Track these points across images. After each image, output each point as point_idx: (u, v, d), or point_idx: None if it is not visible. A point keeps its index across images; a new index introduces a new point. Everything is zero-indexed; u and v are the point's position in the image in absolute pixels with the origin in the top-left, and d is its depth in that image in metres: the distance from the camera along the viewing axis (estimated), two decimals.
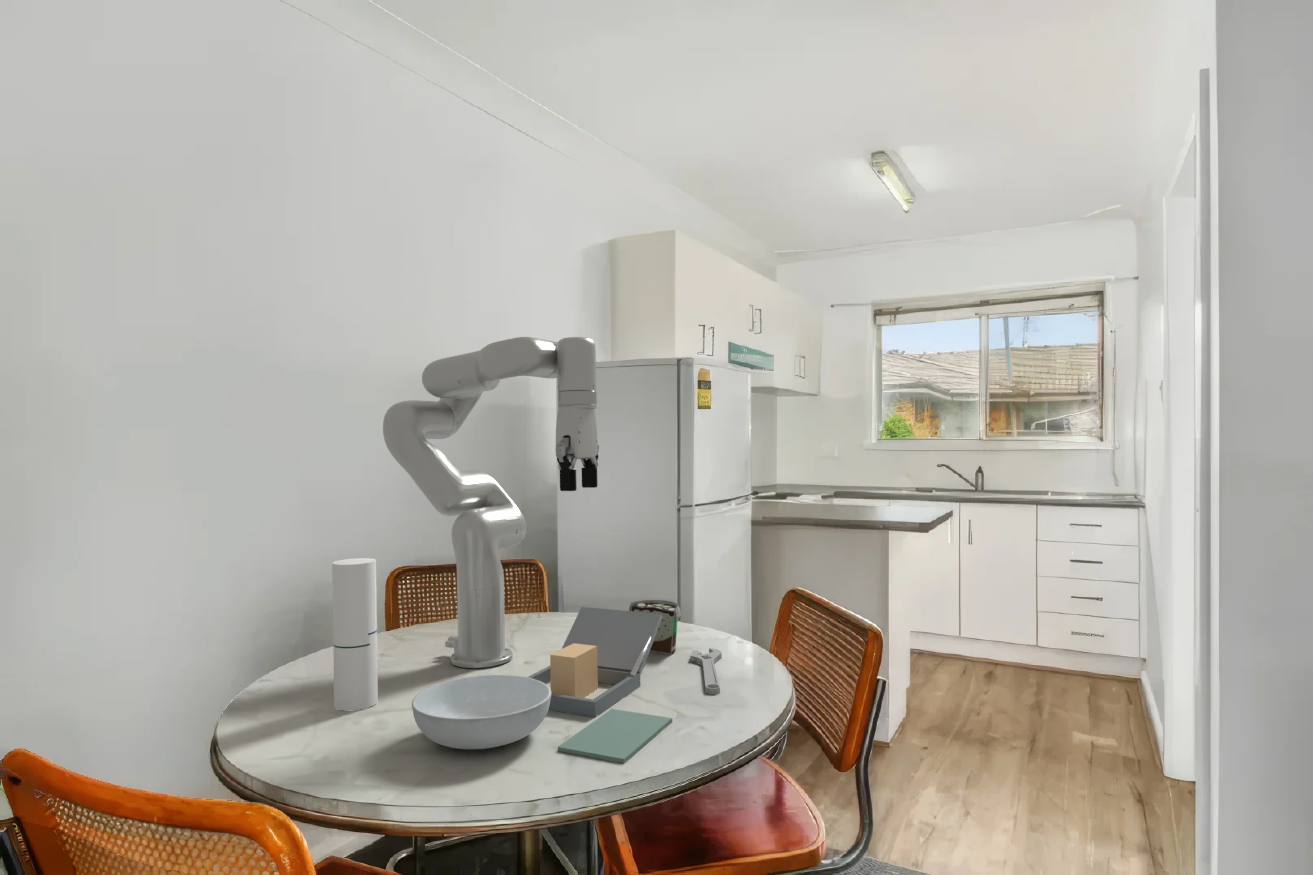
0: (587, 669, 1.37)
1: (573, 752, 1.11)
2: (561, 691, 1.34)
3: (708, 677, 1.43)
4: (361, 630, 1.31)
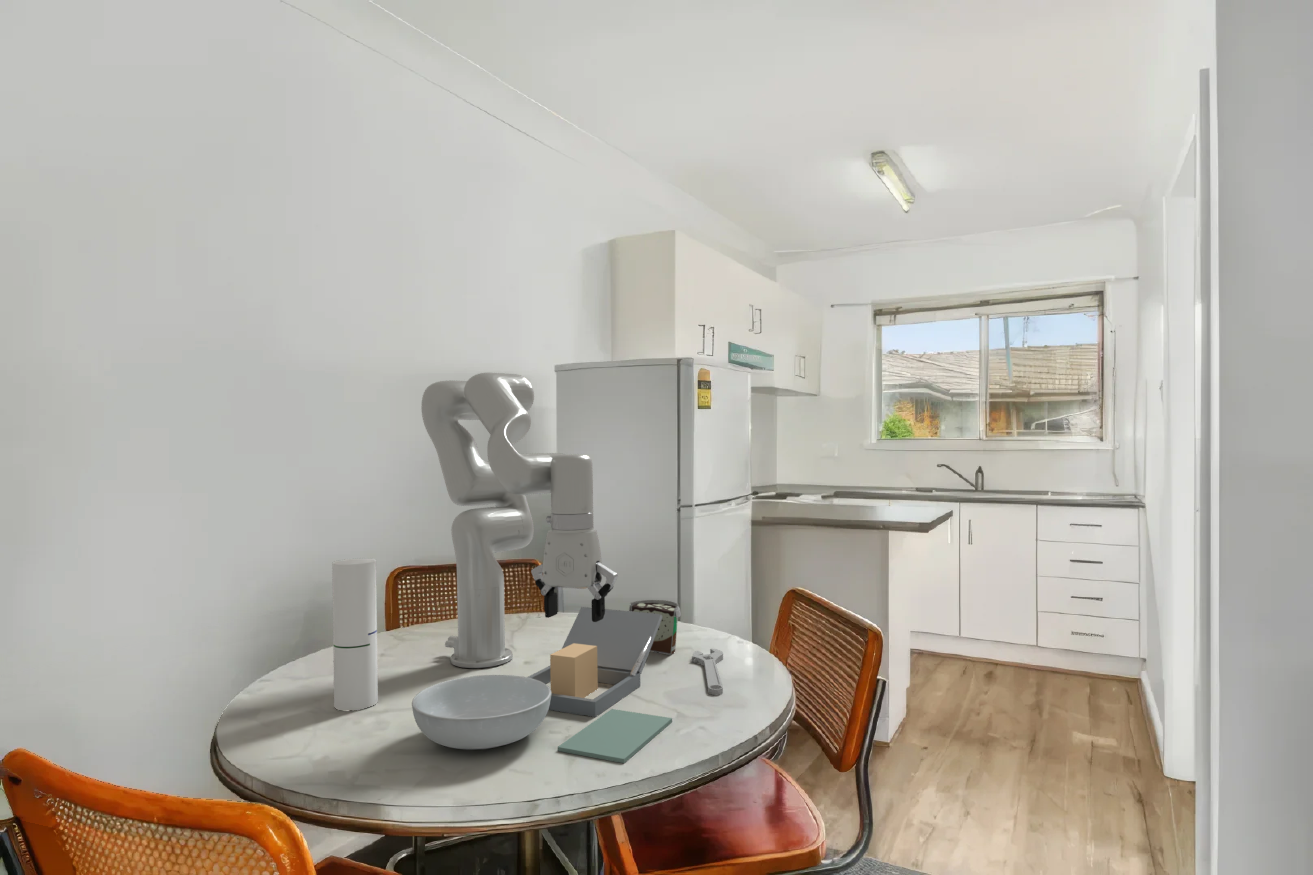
0: (587, 669, 1.37)
1: (573, 752, 1.11)
2: (561, 691, 1.34)
3: (710, 678, 1.43)
4: (361, 630, 1.31)
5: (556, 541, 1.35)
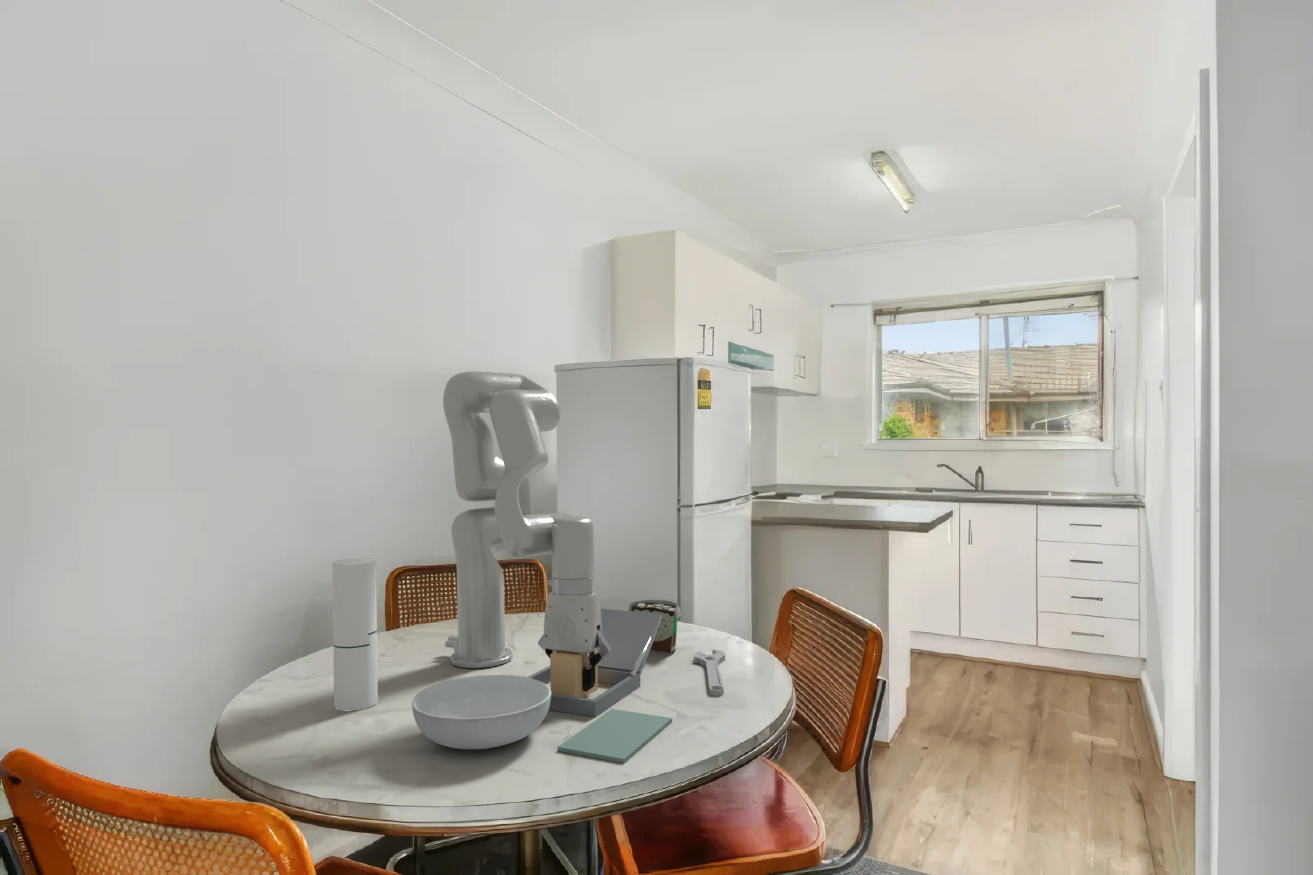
0: None
1: (573, 752, 1.11)
2: (561, 691, 1.34)
3: (712, 678, 1.42)
4: (361, 630, 1.31)
5: (557, 605, 1.36)
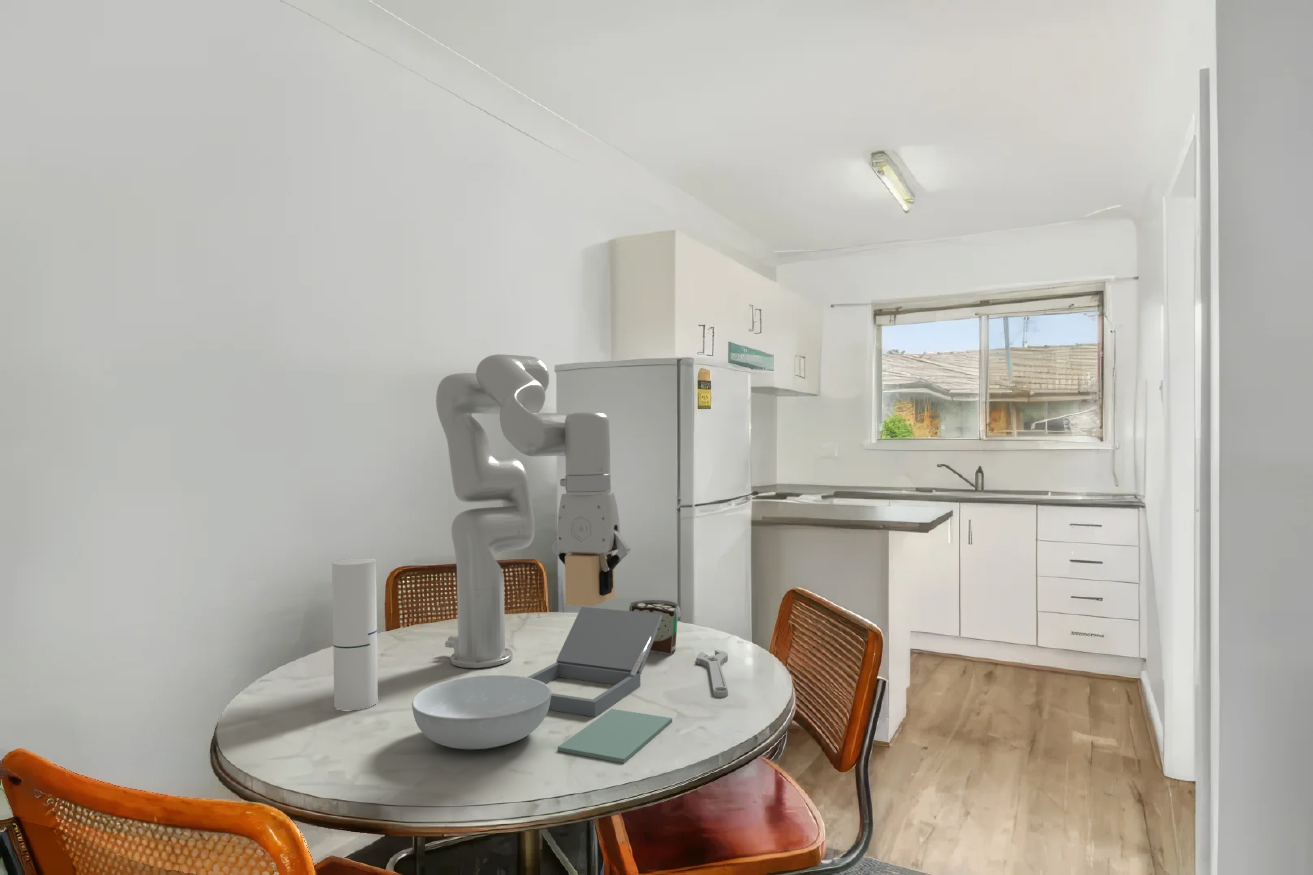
0: None
1: (573, 752, 1.11)
2: (577, 594, 1.25)
3: (715, 680, 1.42)
4: (361, 630, 1.31)
5: (571, 504, 1.27)
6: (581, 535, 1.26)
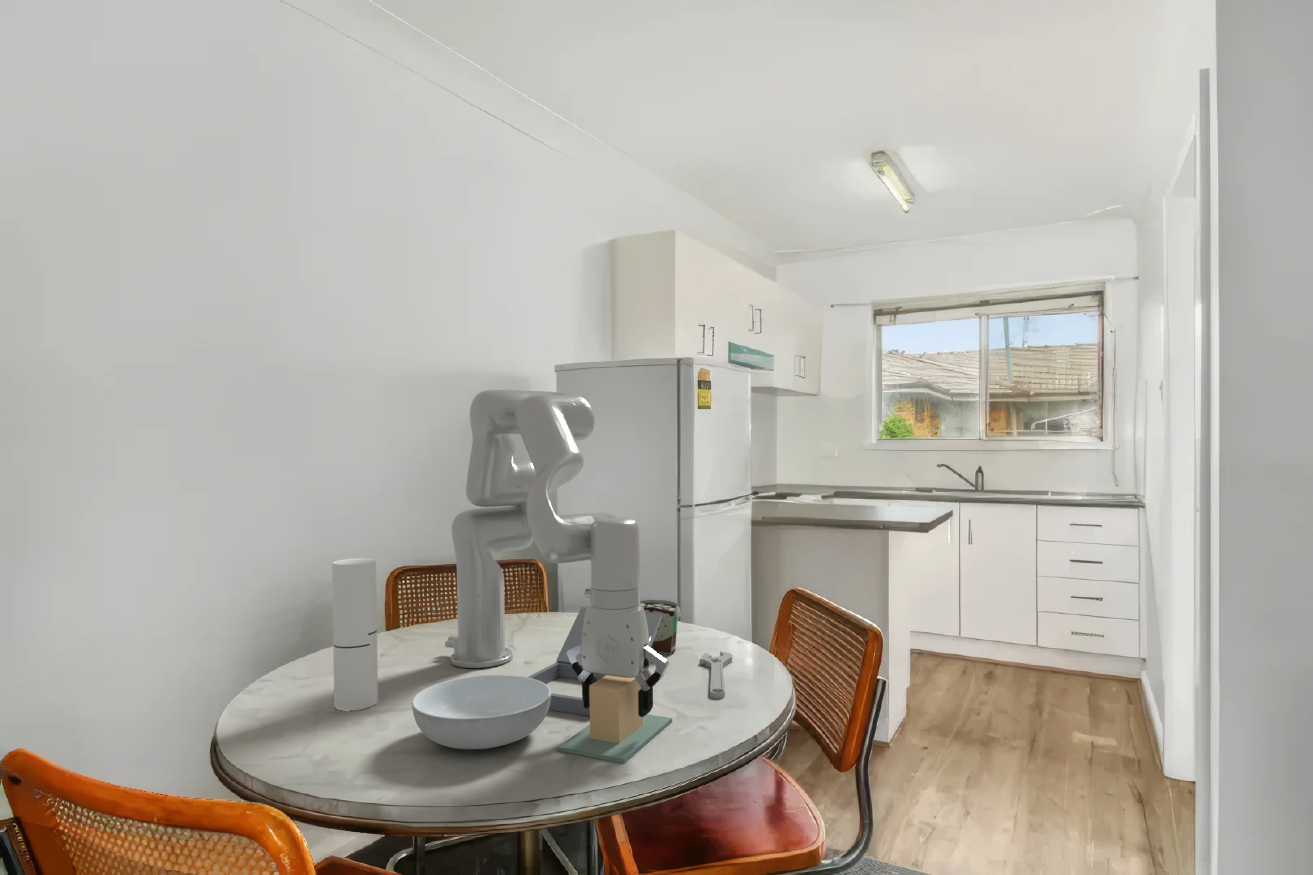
0: (632, 701, 1.17)
1: (573, 752, 1.11)
2: (602, 729, 1.15)
3: (714, 681, 1.41)
4: (361, 630, 1.31)
5: (597, 621, 1.16)
6: (608, 655, 1.15)
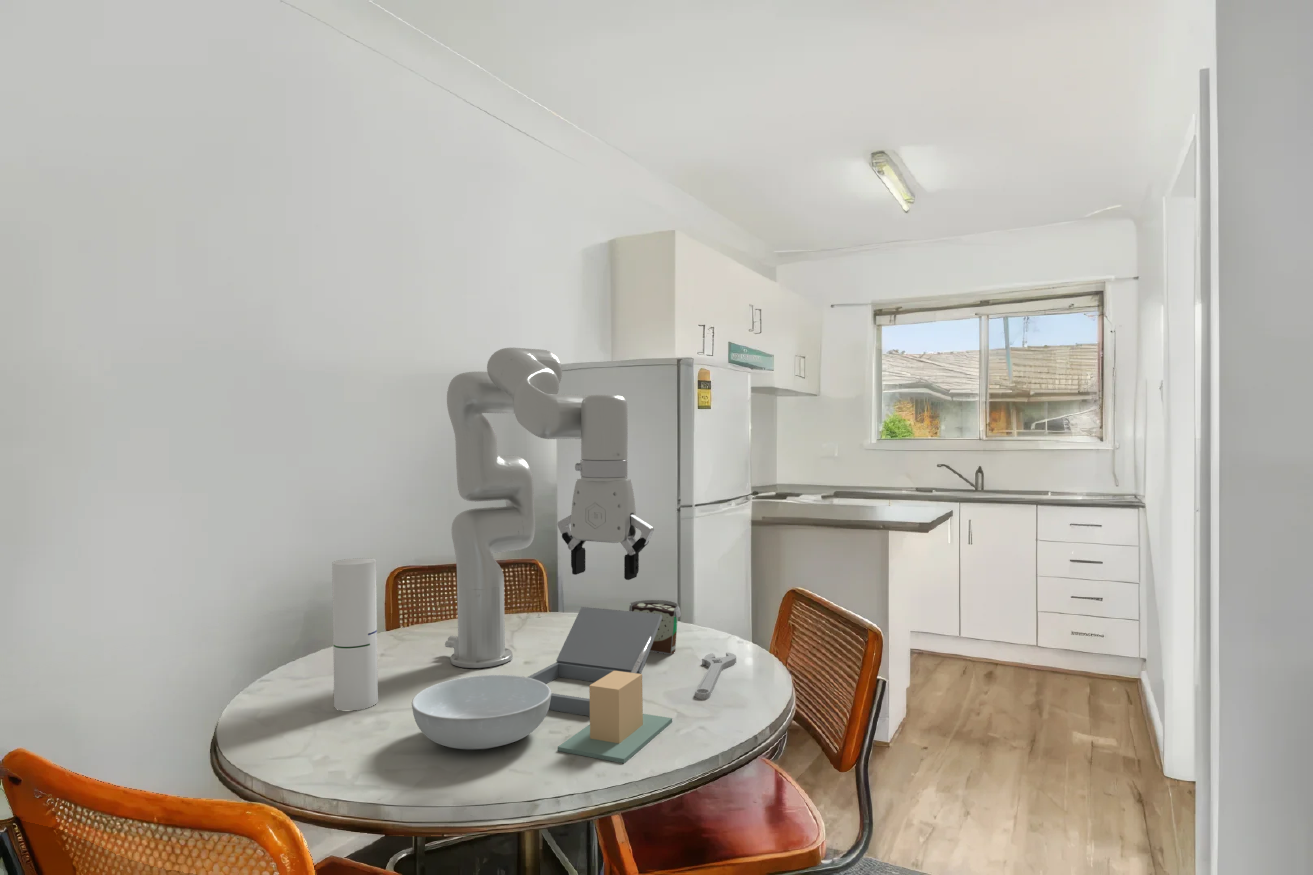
0: (632, 701, 1.17)
1: (573, 752, 1.11)
2: (602, 729, 1.15)
3: (705, 681, 1.41)
4: (361, 630, 1.31)
5: (586, 490, 1.22)
6: (596, 522, 1.22)
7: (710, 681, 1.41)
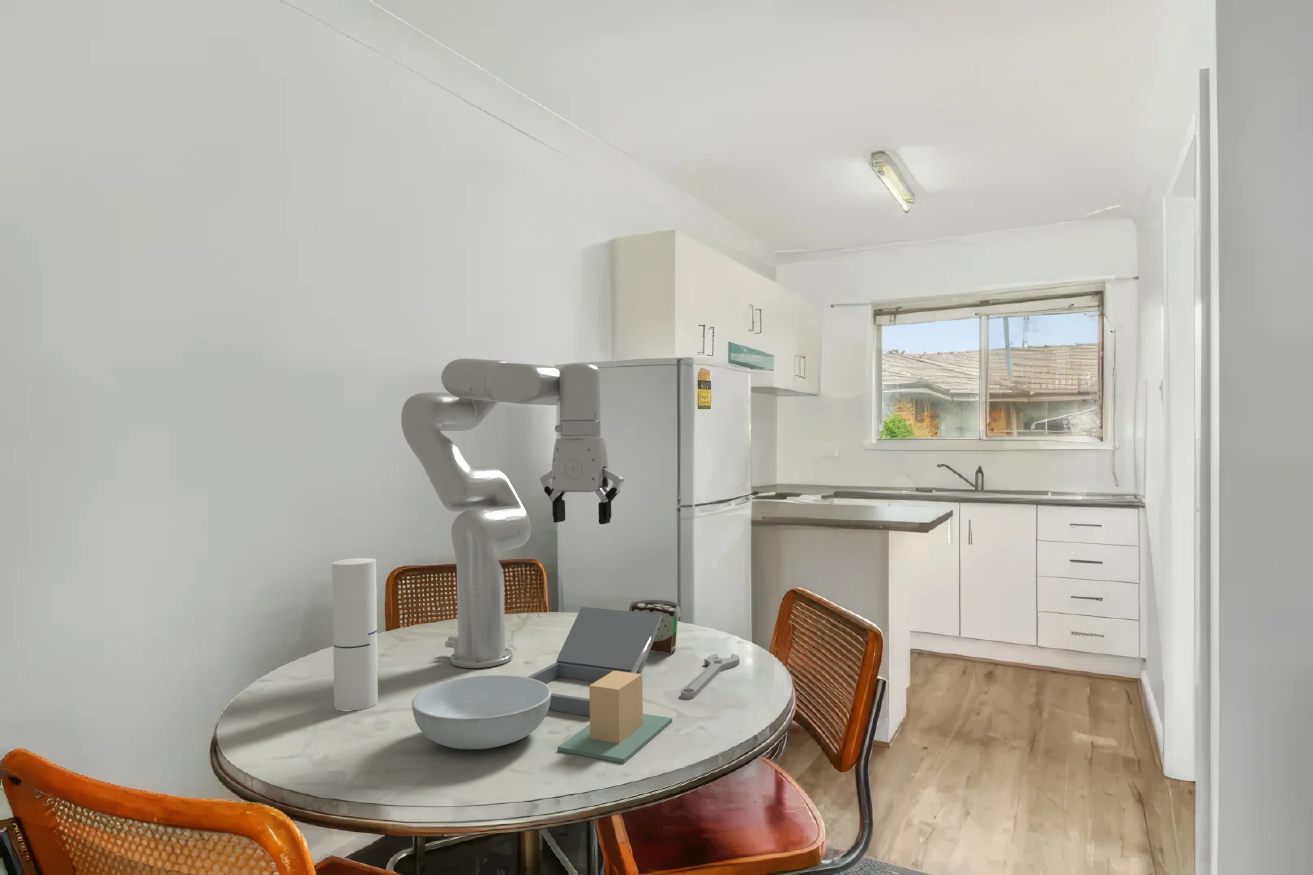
0: (632, 701, 1.17)
1: (573, 752, 1.11)
2: (602, 729, 1.15)
3: (696, 681, 1.41)
4: (361, 630, 1.31)
5: (564, 447, 1.40)
6: (573, 475, 1.40)
7: (701, 681, 1.41)
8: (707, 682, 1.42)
